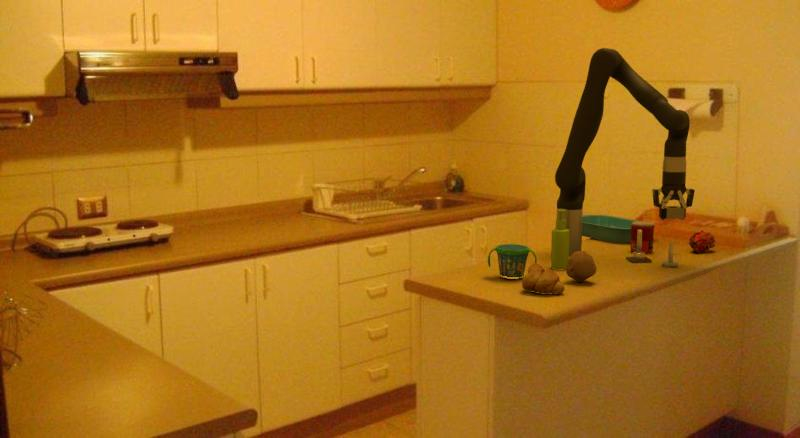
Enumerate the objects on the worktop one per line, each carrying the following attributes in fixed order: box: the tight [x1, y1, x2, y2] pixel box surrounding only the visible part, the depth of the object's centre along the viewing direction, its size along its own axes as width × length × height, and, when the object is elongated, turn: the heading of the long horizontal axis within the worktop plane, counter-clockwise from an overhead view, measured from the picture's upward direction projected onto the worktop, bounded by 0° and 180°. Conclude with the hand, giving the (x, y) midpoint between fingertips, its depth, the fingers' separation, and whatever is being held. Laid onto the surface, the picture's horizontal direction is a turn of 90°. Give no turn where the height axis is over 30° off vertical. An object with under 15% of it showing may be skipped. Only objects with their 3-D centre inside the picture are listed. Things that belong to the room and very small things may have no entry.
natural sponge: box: [565, 250, 597, 283], centre depth 266 cm, size 9×9×10 cm
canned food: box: [629, 220, 655, 255], centre depth 312 cm, size 8×8×11 cm
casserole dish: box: [582, 214, 656, 245], centre depth 344 cm, size 37×22×7 cm, turn 34°
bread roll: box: [521, 263, 566, 295], centre depth 253 cm, size 13×10×8 cm
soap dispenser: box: [550, 209, 570, 270], centre depth 286 cm, size 6×7×20 cm
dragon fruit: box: [688, 230, 716, 254], centre depth 313 cm, size 8×8×12 cm
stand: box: [625, 230, 653, 264], centre depth 297 cm, size 7×7×11 cm
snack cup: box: [487, 243, 538, 277], centre depth 272 cm, size 16×10×10 cm
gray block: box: [664, 205, 685, 220], centre depth 287 cm, size 6×6×4 cm
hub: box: [662, 241, 679, 268], centre depth 289 cm, size 5×5×8 cm
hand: (672, 219), depth 287 cm, fingers closed on gray block, 6 cm apart
